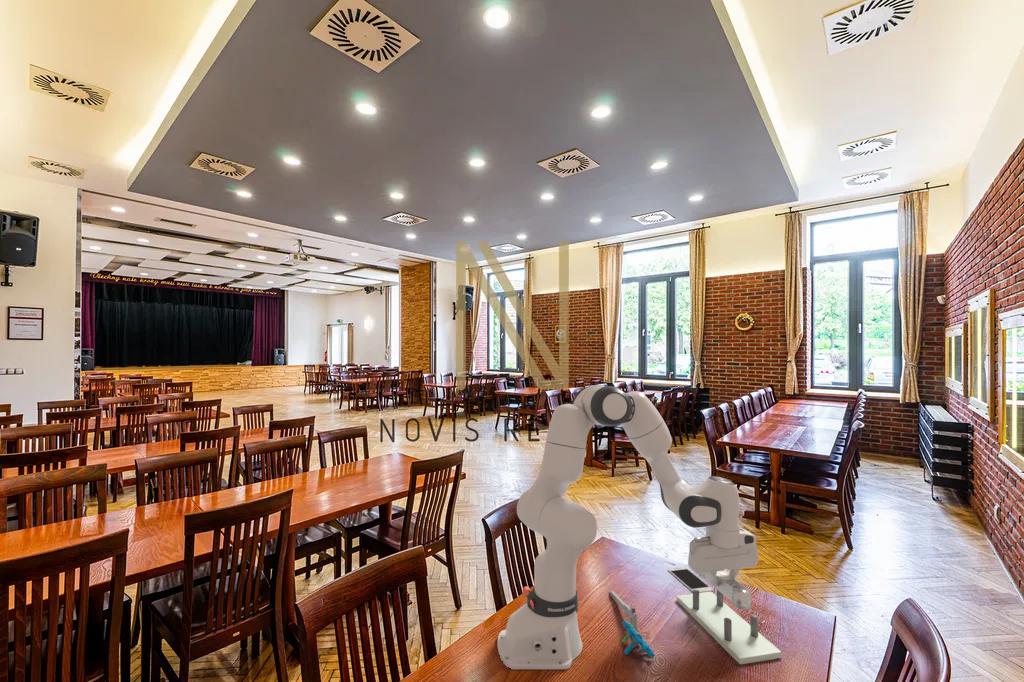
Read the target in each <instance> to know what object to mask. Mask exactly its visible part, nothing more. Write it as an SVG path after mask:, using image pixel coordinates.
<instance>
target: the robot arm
mask: <svg viewBox="0 0 1024 682" xmlns="http://www.w3.org/2000/svg"><path fill="white" fill-rule="evenodd" d="M594 425H595V426H602V427H603V426H605V427H615V426H619V425H620V426H621V428H623V430H624V432H625V434H626V435H627V438H628V439H629V441H630V443H631V444H632V445H633V447H634V448H635V449H636V451H637V452H638V453H639V455H640V456H642V458H643V459H645V460H646V461H647V463H648V465H649V467H650V468H651V470H652V472H653V474H654V476H655V477H656V480H657V482H658V484H659V489H660V496H661V501H662V502H663V504H664V506H665V507H666V508H667V509H668V510H669V511H671V512H672V513H673V514H674V515H675V516H676V517H677V518H678V519H679V520H680V521H682V522H683V523H684V524H685V525H686V526H687V527H691V528H696V529H699V528H705V536H702V537H694V538H693V539H692V540H691V541H690V542H689V544H688V545H689V546H688V547H689V549H688V550H689V551H688V558H687V561H688V562H687V565H688V567H689V568H690V569H691V571H693V573H694V574H695V573H696V574H698V575H699V573H707V572H708V573H709V575H710V577H711V582H712V584H713V585H714V586H720V580H719V579H717V577H716V576H715V575H716V574H717V571H724V572H725V571H729V574H728V575H729V576H731V577H732V578H733V579H735V580H736V578H737V576H738V574H739V572H740V571H739V570H740V569H746V568H754V567H757V565H758V563H759V550H758V546H757V544H756V543H757V536H756V535H755V534H753V533H751V532H750V531H748V530H747V529H745V528H743V527H741V525H740V521H739V516H740V512H741V511H740V508H741V507H740V497H739V496H740V495H739V490H738V487H737V485H736V484H735V483H734V482H732V481H731V480H729V479H728V478H724V477H722V476H721V477H720V476H715V475H714V476H713V475H710V476H708V477H707V478H706V480H704V481H703V482H702V483H700V484H698V485H696V486H692V485H691V483H689V482H688V481H687V480H685V479H684V478H683V477H682V476H680V475H679V472H678V471H677V469H676V468H675V466H674V464H673V462H672V460H671V459H670V457H669V454H668V451H669V450H670V448H671V447H672V443H673V439H672V435H671V433H670V430H669V427H668V426H667V424H666V422H665V420H664V418H663V417H662V415H661V413H660V412H659V410H658V409H657V408H656V406H655V405H654V404H653V402H651V400H650V399H649V398H648V396H646V395H645V394H644V393H643V392H642V391H636V390H633V391H628V392H625V391H623V390H622V389H620V388H618V387H617V386H616V387H615V386H612V385H611V386H610V385H602V384H596V385H595V384H594V385H590V386H585V387H583V388H581V389H580V390H579V391H578V392H577V393H576V394H575V396H574V398H573V399H572V400H571V402H570V403H564V404H560V405H559V406H557V407H556V408H555V409H554V411H553V413H552V415H551V419H550V422H549V425H548V429H547V434H546V438H545V444H544V445H545V446H544V451H543V454H542V455H543V457H542V461H541V466H540V469H539V473H538V475H537V476H536V477H537V478H536V480H535V481H534V482H533V484H532V486H531V487H530V488H529V489H527V490H525V491H524V492H523V493H522V494H521V496H519V499H518V501H517V504H516V515H517V517H518V519H519V520H520V521H521V522H522V523H523V524H524V525H525V526H526V527H527V528H529V530H530V531H533V532H535V533H537V534H539V535H541V536H542V537H544V538H545V539H546V549H545V550H543V551H541V552H540V553H539V554H538V555H537V556H536V557H535V559H534V571H533V572H534V573H533V574H534V579H533V580H534V587H533V588H532V590H531V589H530V587H529V586H523V588H522V593H523V595H524V597H526V598H527V599H526V603H524V604H523V605H522V606H521V607H519V608H518V609H517V610H516V611H515V612H512V614H510V616H509V617H508V619H507V623H506V628H505V629H502V630H501V631H500V632H499V634H498V636H497V645H496V646H497V652H498V655H500V656H499V658H500V660H501V662H502V661H503V662H502V664H503V665H505V667H506V668H508V667H509V668H511V669H510V670H568V669H570V668H571V666H572V663H573V661H575V659H576V658H578V657H579V656H580V655H581V653H582V652H583V651H582V650H583V642H582V639H581V634H580V630H579V624H578V614H577V613H578V609H579V597H578V596H579V595H578V590H577V565H578V560H579V557H580V555H581V553H582V552H583V551H585V550H587V549H588V548H590V546H592V544H593V543H594V542H595V539H596V537H597V533H598V524H597V519H596V516H595V515H594V514H593V513H592V512H591V511H589V510H588V509H587V508H585V507H584V506H582V505H581V504H579V503H577V502H575V501H573V500H572V501H571V500H569V499H567V498H565V496H566V493H567V490H568V488H569V486H570V485H571V484H575V483H576V482H578V481H579V480H581V478H582V476H583V470H584V463H585V457H586V450H587V442H588V441H587V440H588V436H589V433H590V430H591V429H592V427H593V426H594ZM509 668H508V669H509Z"/></svg>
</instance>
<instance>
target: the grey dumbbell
mask: <svg viewBox="0 0 1024 682" xmlns="http://www.w3.org/2000/svg"><path fill="white" fill-rule="evenodd" d="M698 576H699V578H700V579H701V578H702V579H703V580H705V581H706V582H707V583H709V584H710V585H711V586H713V588H715V589H716V591H717V590H718V591H719V592H721V593H722V594H723V597H725V598H727V599H728V600H729V601H730V602H731V603H733V605H734V606H735V607H736V608H737V609H739V610H744V611H748V610H751V609H752V591H751V590H750V589H749V588H748V587H745V586H744V585H742V584H741V583H740V582H738V581H737V580H736V578H735V579H733V578H732V577H731V576H729V574H728V573H727V572H725V570H724V571H717V574H716V575H715V576H716V577H717V579H719V580H720V586H714V585H713V584H712V582H711V577H710V575H709V573H708V572H707V573H699V574H698Z"/></svg>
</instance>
